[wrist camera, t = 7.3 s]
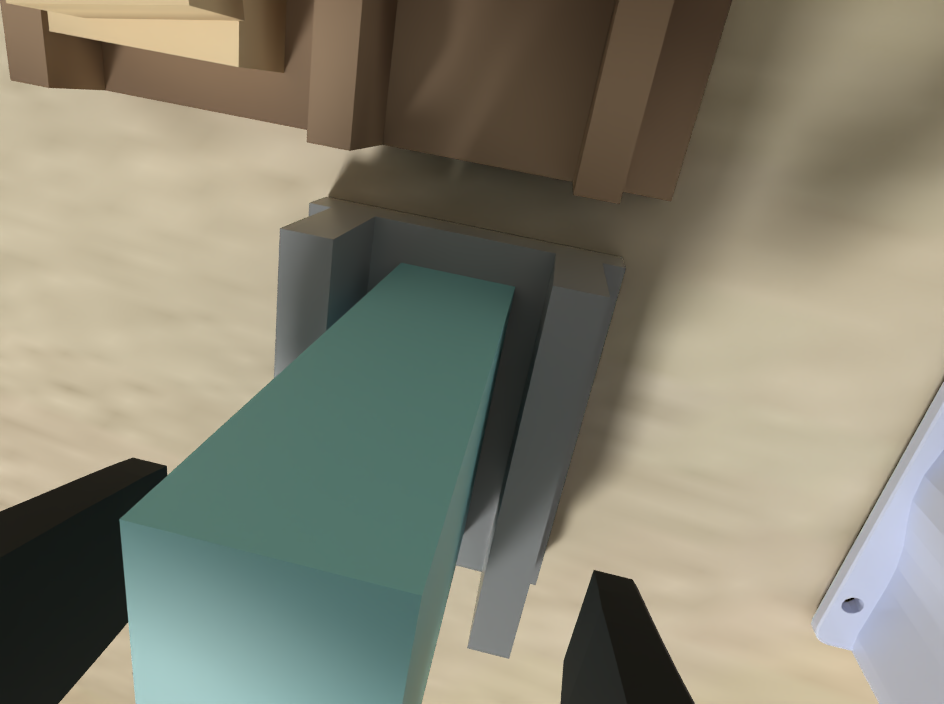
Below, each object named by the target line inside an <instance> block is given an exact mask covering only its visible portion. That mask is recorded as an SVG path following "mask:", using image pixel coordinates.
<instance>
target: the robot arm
mask: <svg viewBox="0 0 944 704" xmlns="http://www.w3.org/2000/svg"><path fill="white" fill-rule="evenodd" d="M166 476H167V466H165V465H161V464H157V463H153V462H149V461H145V460H140V459H136V458H131V459H128V460H125V461H122V462H119V463H117V464H114V465H112V466H109V467H106V468H104V469H101V470H99V471H96V472H94V473H92V474H89V475H87V476H84V477H82V478H80V479H77V480H75V481H72V482H70V483H68V484H65V485H63V486H60V487H58V488H56V489H53V490H51V491H49V492H46V493H44V494H41V495H39V496H37V497H34V498H32V499H29V500H27V501H25V502H22V503H20V504H17V505H15V506H13V507H10V508H8V509H5V510H3V511H0V704H58V703H59V702H60V701H61V700H62V699H63V698H64V696H65V695H66V694H67V693H68V692H69V691H70V690H71V688H72V687H73V686H74V685H75V684H76V683H77V681H78V680H79V679H80V678H81V677H82V676H83V675H84V673H85V672H86V671H87V670H88V669H89V668H90V666H91V665H92V664H93V663H94V662H95V661H96V659H97V658H98V657H99V656H100V655H101V654H102V652H103V651H104V650H105V649H106V648H107V647H108V645H109V644H110V643H111V642H112V641H113V639H114V638H115V637H116V636H117V635H118V634H119V632H120V631H121V630H122V629H123V628H124V626H125V625H126V624H127V623H128V611H127V600H126V588H125V577H124V566H123V554H122V543H121V532H120V521H119V519H120V518H121V517H122V516H124V515H125V514H126V513H127V512H128V511H129V510H130V509H131V508H132V507H133V506H135V505H136V504H137V503H138V502H139V501H140V500H141V499H142V498H143V497H144V496H146V495H147V494H148V493H149V492H150V491H151V490H152V489H153V488H154V487H155V486H157V485H158V484H159V483H160V482H161V481H162V480H163V479H164V478H165V477H166ZM849 598H854V599H853V600H851V601H848V602H844V601H845V600H846V599H849ZM811 625H812V628H813V630H814V633H815V635H816V637H817V638H818V639H819V640H820V641H821V642H822V643H825V644H827V645H830V646H835V647H839V648H843V649H847V650H851V651H852V653H853V654H854V656H855V658H856V660H857V662H858V664H859V666H860V668H861V670H862V672H863V674H864V676H865V677H866V679H867V681H868V683H869V685H870V687H871V689H872V691H873V693H874V695H875V697H876V698H877V700H878V702H879V704H944V382H943V383H942V385H941V387H940V389H939V391H938V393H937V394H936V396H935V398H934V400H933V402H932V403H931V405H930V407H929V409H928V411H927V412H926V414H925V416H924V418H923V420H922V421H921V423H920V425H919V427H918V429H917V430H916V432H915V434H914V436H913V438H912V439H911V441H910V443H909V445H908V447H907V448H906V450H905V452H904V454H903V456H902V457H901V459H900V461H899V463H898V465H897V466H896V468H895V470H894V472H893V474H892V476H891V477H890V479H889V481H888V483H887V485H886V486H885V488H884V490H883V492H882V494H881V495H880V497H879V499H878V501H877V503H876V504H875V506H874V508H873V510H872V512H871V513H870V515H869V517H868V519H867V521H866V522H865V524H864V526H863V528H862V530H861V531H860V533H859V535H858V537H857V539H856V540H855V542H854V544H853V546H852V548H851V550H850V551H849V553H848V555H847V557H846V559H845V560H844V562H843V564H842V566H841V568H840V569H839V571H838V573H837V575H836V577H835V578H834V580H833V582H832V584H831V586H830V587H829V589H828V591H827V593H826V595H825V596H824V598H823V600H822V602H821V604H820V605H819V607H818V609H817V611H816V613H815V614H814V616H813V618H812V622H811ZM561 704H695V703H694V701H693V699H692V697H691V696H690V694H689V692H688V690H687V688H686V686H685V684H684V683H683V681H682V679H681V677H680V675H679V673H678V671H677V669H676V667H675V665H674V663H673V661H672V659H671V657H670V655H669V653H668V651H667V649H666V647H665V645H664V643H663V641H662V639H661V637H660V635H659V633H658V631H657V629H656V626H655V624H654V622H653V620H652V618H651V616H650V614H649V612H648V609H647V607H646V605H645V603H644V601H643V599H642V597H641V594H640V592H639V590H638V588H637V586H636V584H635V583H634V581H633V580H632V579H628V578H624V577H620V576H616V575H612V574H608V573H604V572H600V571H596V570H594V571H593V574H592V577H591V580H590V583H589V586H588V589H587V592H586V595H585V598H584V601H583V604H582V607H581V610H580V613H579V616H578V619H577V622H576V625H575V628H574V631H573V634H572V637H571V640H570V643H569V646H568V649H567V652H566V655H565V658H564V664H563V678H562V691H561Z"/></svg>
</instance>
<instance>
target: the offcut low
mask: <svg viewBox="0 0 944 704" xmlns="http://www.w3.org/2000/svg"><path fill="white" fill-rule="evenodd" d="M286 5H287V0H243V9H244V19H245V21H225V20H165V19H104V18H82V17H77V16H71V15H66V14H61V13H56V12H50V11H47V13H48V22H49V31H51V32H56V33H62V34H67V35H72V36H77V37H83V38H88V39H93V40H98V41H104V42H109V43H114V44H119V45H125V46H130V47H135V48H141V49H146V50H151V51H156V52H162V53H167V54H172V55H177V56H183V57H188V58H193V59H198V60H204V61H209V62H214V63H219V64H225V65H230V66H235V67H241V68H249V69H257V70H265V71H272V72H280V73H284V58H285V31H286Z"/></svg>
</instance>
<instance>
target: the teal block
mask: <svg viewBox="0 0 944 704" xmlns="http://www.w3.org/2000/svg"><path fill="white" fill-rule="evenodd" d="M514 291H515V287H514V286H509V285H505V284H500V283H495V282H490V281H486V280H481V279H476V278H471V277H467V276H462V275H457V274H453V273H448V272H443V271H438V270H434V269H429V268H424V267H419V266H415V265H410V264H405V263H400V264H399V265H398V266H397V267H396V268H395V269H394V270H393V271H392V272H390V273H389V274H388V275H387V276H386V277H385V278H384V279H383V280H382V281H381V282H379V283H378V284H377V285H376V286H375V287H374V288H373V289H372V290H371V291H370V292H368V293H367V294H366V295H365V296H364V297H363V298H362V299H361V300H360V301H359V302H357V303H356V304H355V305H354V306H353V307H352V308H351V309H350V310H349V311H348V312H347V313H345V314H344V315H343V316H342V317H341V318H340V319H339V320H338V321H337V322H336V323H334V324H333V325H332V326H331V327H330V328H329V329H328V330H327V331H326V332H325V333H323V334H322V335H321V336H320V337H319V338H318V339H317V340H316V341H315V342H314V343H312V344H311V345H310V346H309V347H308V348H307V349H306V350H305V351H304V352H303V353H301V354H300V355H299V356H298V357H297V358H296V359H295V360H294V361H293V362H292V363H290V364H289V365H288V366H287V367H286V368H285V369H284V370H283V371H282V372H281V373H280V374H278V375H277V376H276V377H275V378H274V379H273V380H272V381H271V382H270V383H269V384H267V385H266V386H265V387H264V388H263V389H262V390H261V391H260V392H259V393H258V394H256V395H255V396H254V397H253V398H252V399H251V400H250V401H249V402H248V403H247V404H245V405H244V406H243V407H242V408H241V409H240V410H239V411H238V412H237V413H236V414H234V415H233V416H232V417H231V418H230V419H229V420H228V421H227V422H226V423H225V424H224V425H222V426H221V427H220V428H219V429H218V430H217V431H216V432H215V433H214V434H213V435H211V436H210V437H209V438H208V439H207V440H206V441H205V442H204V443H203V444H202V445H200V446H199V447H198V448H197V449H196V450H195V451H194V452H193V453H192V454H191V455H189V456H188V457H187V458H186V459H185V460H184V461H183V462H182V463H181V464H180V465H178V466H177V467H176V468H175V469H174V470H173V471H172V472H171V473H170V474H169V475H167V476H166V477H165V478H164V479H163V480H162V481H161V482H160V483H159V484H158V485H157V486H155V487H154V488H153V489H152V490H151V491H150V492H149V493H148V494H147V495H146V496H144V497H143V498H142V499H141V500H140V501H139V502H138V503H137V504H136V505H135V506H133V507H132V508H131V509H130V510H129V511H128V512H127V513H126V514H125V515H124V516H122V517H121V518H120V519H119V521H120V532H121V543H122V554H123V566H124V577H125V588H126V600H127V611H128V622H129V633H130V645H131V656H132V667H133V679H134V690H135V701H136V704H421V703H422V699H423V695H424V691H425V687H426V683H427V679H428V675H429V671H430V667H431V663H432V659H433V655H434V651H435V647H436V643H437V639H438V635H439V631H440V627H441V623H442V619H443V615H444V611H445V607H446V603H447V599H448V594H449V590H450V586H451V582H452V578H453V574H454V570H455V566H456V562H457V558H458V554H459V550H460V546H461V542H462V538H463V534H464V529H465V524H466V520H467V515H468V510H469V505H470V501H471V496H472V491H473V486H474V482H475V477H476V472H477V467H478V463H479V458H480V453H481V448H482V443H483V439H484V434H485V429H486V424H487V420H488V415H489V410H490V405H491V401H492V396H493V391H494V386H495V381H496V377H497V372H498V367H499V362H500V358H501V353H502V348H503V343H504V339H505V334H506V329H507V324H508V320H509V315H510V310H511V305H512V300H513V296H514Z"/></svg>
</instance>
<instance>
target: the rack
mask: <svg viewBox="0 0 944 704" xmlns="http://www.w3.org/2000/svg"><path fill="white" fill-rule="evenodd" d="M731 2H732V0H287V5H286V31H285V58H284V73H280V72H272V71H265V70H257V69H249V68H241V67H235V66H230V65H225V64H219V63H214V62H209V61H204V60H198V59H193V58H188V57H183V56H177V55H172V54H167V53H162V52H156V51H151V50H146V49H141V48H135V47H130V46H125V45H119V44H114V43H109V42H104V41H98V40H93V39H88V38H83V37H77V36H72V35H67V34H62V33H56V32H51V31H49V22H48V13H47V11H45V10H40V9H35V8H29V7H24V6H19V5H14V4H8V3H6V0H0V3H1V11H2V18H3V26H4V33H5V41H6V49H7V56H8V64H9V71H10V79H11V80H12V81H17V82H22V83H27V84H32V85H38V86H43V87H48V88H66V89H90V90H107V91H112V92H117V93H122V94H127V95H132V96H137V97H143V98H148V99H153V100H158V101H163V102H168V103H173V104H178V105H183V106H188V107H193V108H199V109H204V110H209V111H214V112H219V113H224V114H229V115H234V116H239V117H244V118H250V119H255V120H260V121H265V122H270V123H275V124H280V125H285V126H290V127H295V128H300V129H306V130H307V142H308V143H313V144H318V145H323V146H329V147H334V148H339V149H344V150H349V151H351V150H357V149H362V148H367V147H373V146H378V145H387V146H392V147H397V148H402V149H407V150H412V151H418V152H423V153H428V154H433V155H438V156H443V157H448V158H453V159H458V160H463V161H469V162H474V163H479V164H484V165H489V166H494V167H499V168H504V169H509V170H514V171H519V172H525V173H530V174H535V175H540V176H545V177H550V178H555V179H560V180H565V181H570V182H573V195H576V196H581V197H586V198H591V199H596V200H601V201H606V202H611V203H617V204H620V201H621V197H622V193H623V192H626V193H632V194H637V195H642V196H647V197H652V198H657V199H662V200H667V201H671V200H672V197H673V194H674V190H675V187H676V184H677V180H678V177H679V174H680V171H681V167H682V164H683V161H684V157H685V154H686V151H687V147H688V144H689V141H690V138H691V134H692V131H693V128H694V124H695V121H696V118H697V114H698V111H699V108H700V104H701V101H702V98H703V95H704V91H705V88H706V85H707V81H708V78H709V75H710V71H711V68H712V65H713V62H714V58H715V55H716V52H717V48H718V45H719V42H720V38H721V35H722V32H723V29H724V25H725V22H726V19H727V15H728V12H729V9H730V5H731Z"/></svg>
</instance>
